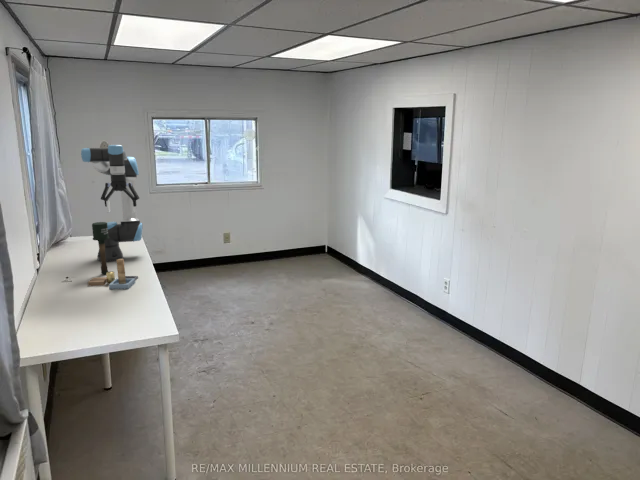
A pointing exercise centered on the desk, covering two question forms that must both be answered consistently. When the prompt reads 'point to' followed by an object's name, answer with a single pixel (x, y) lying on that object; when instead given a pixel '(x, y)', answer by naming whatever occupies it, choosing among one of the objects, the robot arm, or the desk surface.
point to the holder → (131, 277)
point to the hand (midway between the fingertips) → (121, 212)
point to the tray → (116, 284)
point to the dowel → (121, 271)
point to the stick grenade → (101, 242)
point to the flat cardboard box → (97, 281)
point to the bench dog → (110, 277)
